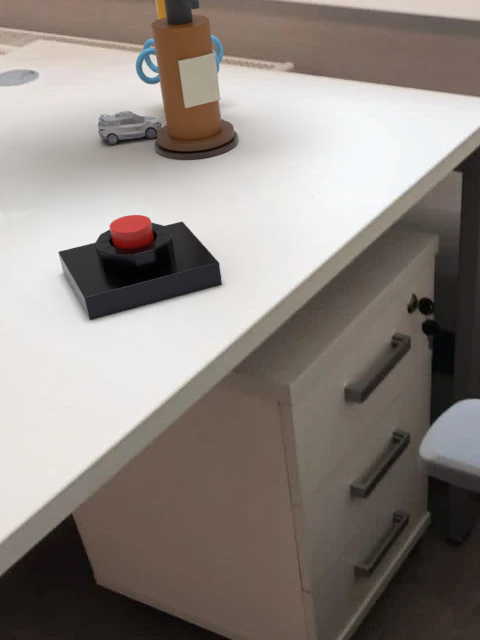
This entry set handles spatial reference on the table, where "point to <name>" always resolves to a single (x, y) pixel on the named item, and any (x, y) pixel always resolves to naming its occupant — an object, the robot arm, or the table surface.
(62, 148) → the table surface
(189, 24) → the labeled post on disc
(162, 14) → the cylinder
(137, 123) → the toy car
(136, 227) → the button
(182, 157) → the turntable base
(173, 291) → the button block
